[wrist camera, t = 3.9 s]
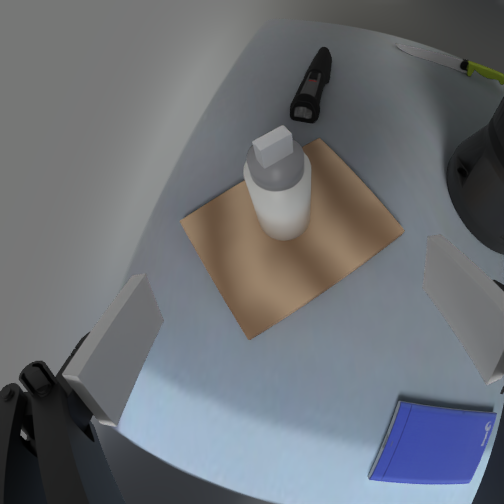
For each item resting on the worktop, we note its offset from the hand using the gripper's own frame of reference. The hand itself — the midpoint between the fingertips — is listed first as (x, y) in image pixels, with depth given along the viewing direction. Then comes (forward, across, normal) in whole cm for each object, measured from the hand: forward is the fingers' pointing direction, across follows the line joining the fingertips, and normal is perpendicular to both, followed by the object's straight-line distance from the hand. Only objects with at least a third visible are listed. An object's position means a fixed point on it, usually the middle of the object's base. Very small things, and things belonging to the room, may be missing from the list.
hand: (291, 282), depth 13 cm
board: (+16, 0, +4) cm, 17 cm away
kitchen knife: (+36, -34, -15) cm, 52 cm away
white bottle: (+16, 0, +2) cm, 16 cm away
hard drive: (0, -13, +21) cm, 25 cm away
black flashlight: (+32, -7, -11) cm, 34 cm away
